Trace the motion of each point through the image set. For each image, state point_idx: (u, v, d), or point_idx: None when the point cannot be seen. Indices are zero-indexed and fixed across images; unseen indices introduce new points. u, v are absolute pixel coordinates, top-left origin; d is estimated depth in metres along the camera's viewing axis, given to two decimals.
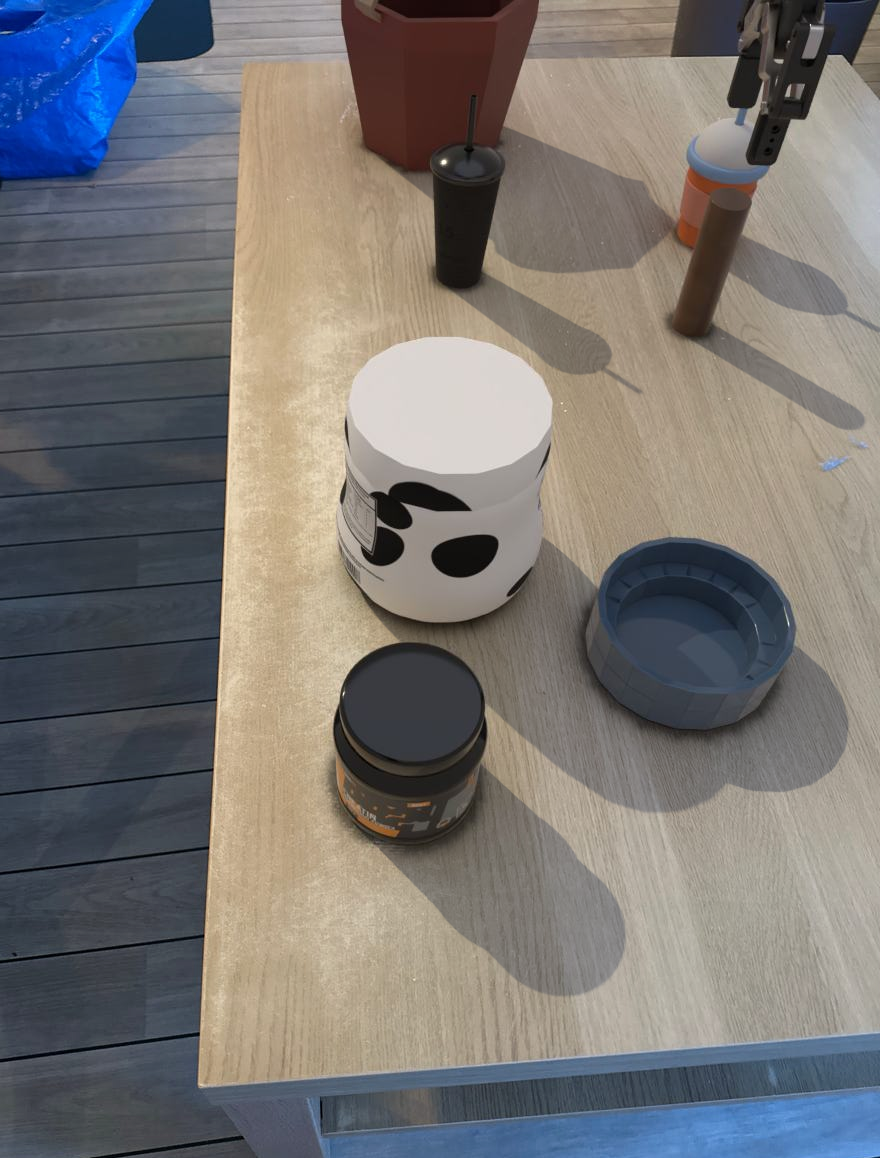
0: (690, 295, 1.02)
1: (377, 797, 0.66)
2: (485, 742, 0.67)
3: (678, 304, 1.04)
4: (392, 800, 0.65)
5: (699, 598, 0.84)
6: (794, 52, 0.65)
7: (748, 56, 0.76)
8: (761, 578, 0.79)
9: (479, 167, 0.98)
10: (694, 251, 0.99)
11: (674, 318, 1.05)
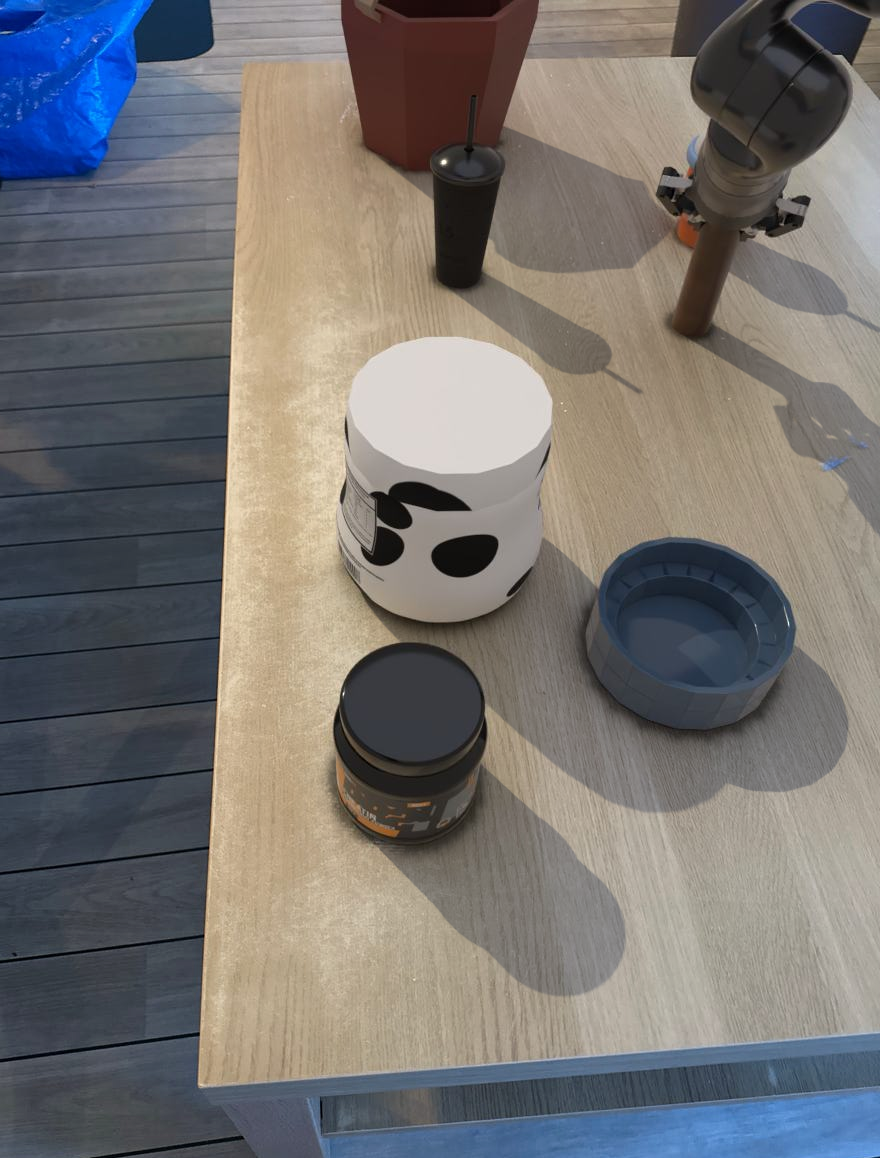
0: (690, 295, 1.02)
1: (377, 797, 0.66)
2: (485, 742, 0.67)
3: (678, 304, 1.04)
4: (392, 800, 0.65)
5: (699, 598, 0.84)
6: None
7: None
8: (761, 578, 0.79)
9: (479, 167, 0.98)
10: (694, 251, 0.99)
11: (674, 318, 1.05)
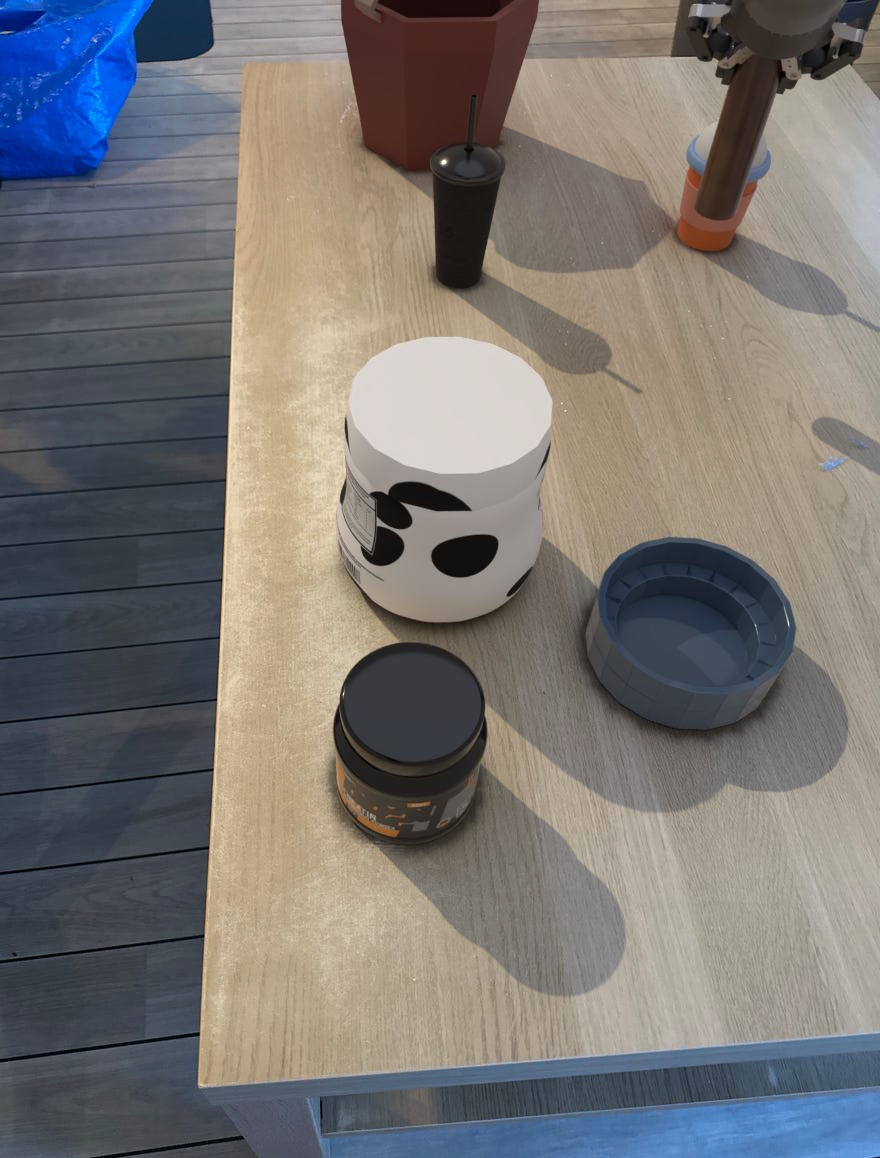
0: (720, 162, 0.88)
1: (377, 797, 0.66)
2: (485, 742, 0.67)
3: (704, 176, 0.91)
4: (392, 800, 0.65)
5: (699, 598, 0.84)
6: None
7: None
8: (761, 578, 0.79)
9: (479, 167, 0.98)
10: (724, 108, 0.86)
11: (699, 194, 0.92)
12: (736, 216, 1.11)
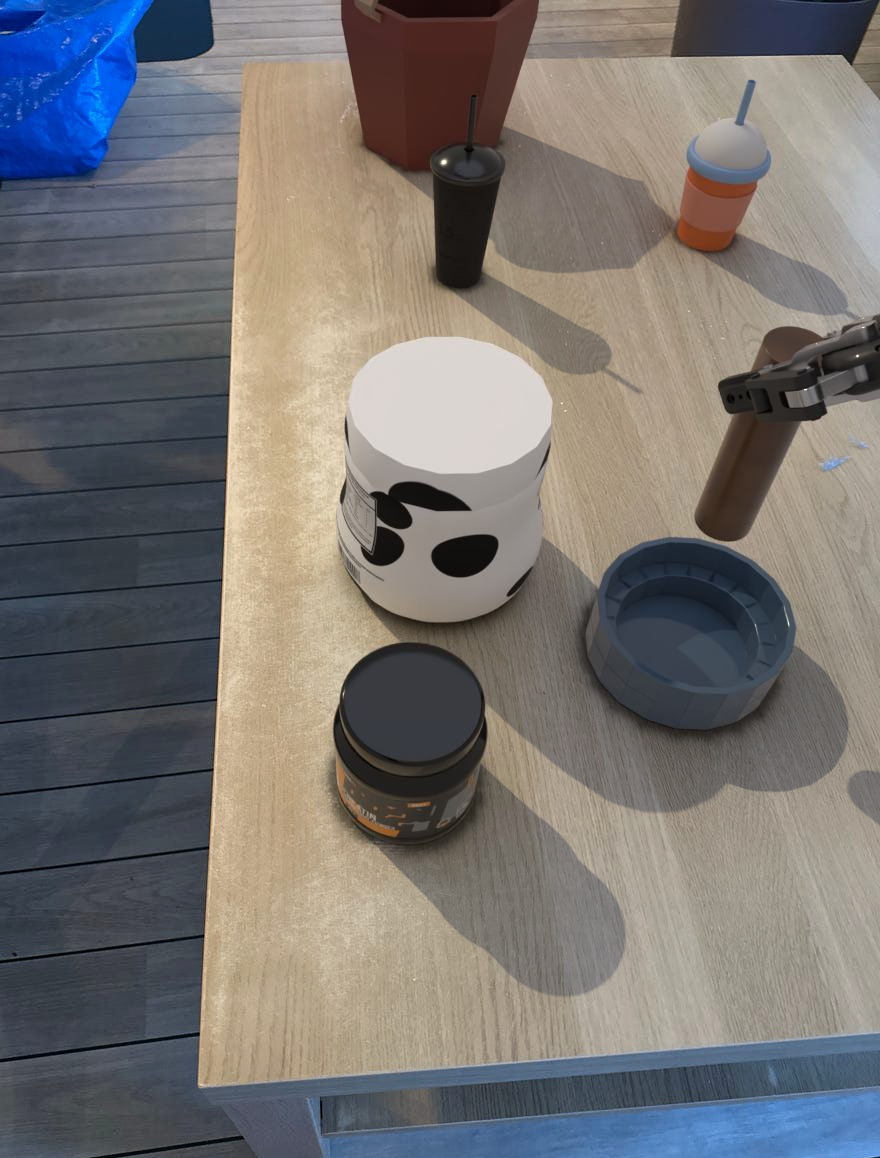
0: (755, 488, 0.65)
1: (377, 797, 0.66)
2: (485, 742, 0.67)
3: (725, 506, 0.67)
4: (392, 800, 0.65)
5: (699, 598, 0.84)
6: None
7: None
8: (761, 578, 0.79)
9: (479, 167, 0.98)
10: (754, 438, 0.62)
11: (719, 524, 0.68)
12: (736, 216, 1.11)
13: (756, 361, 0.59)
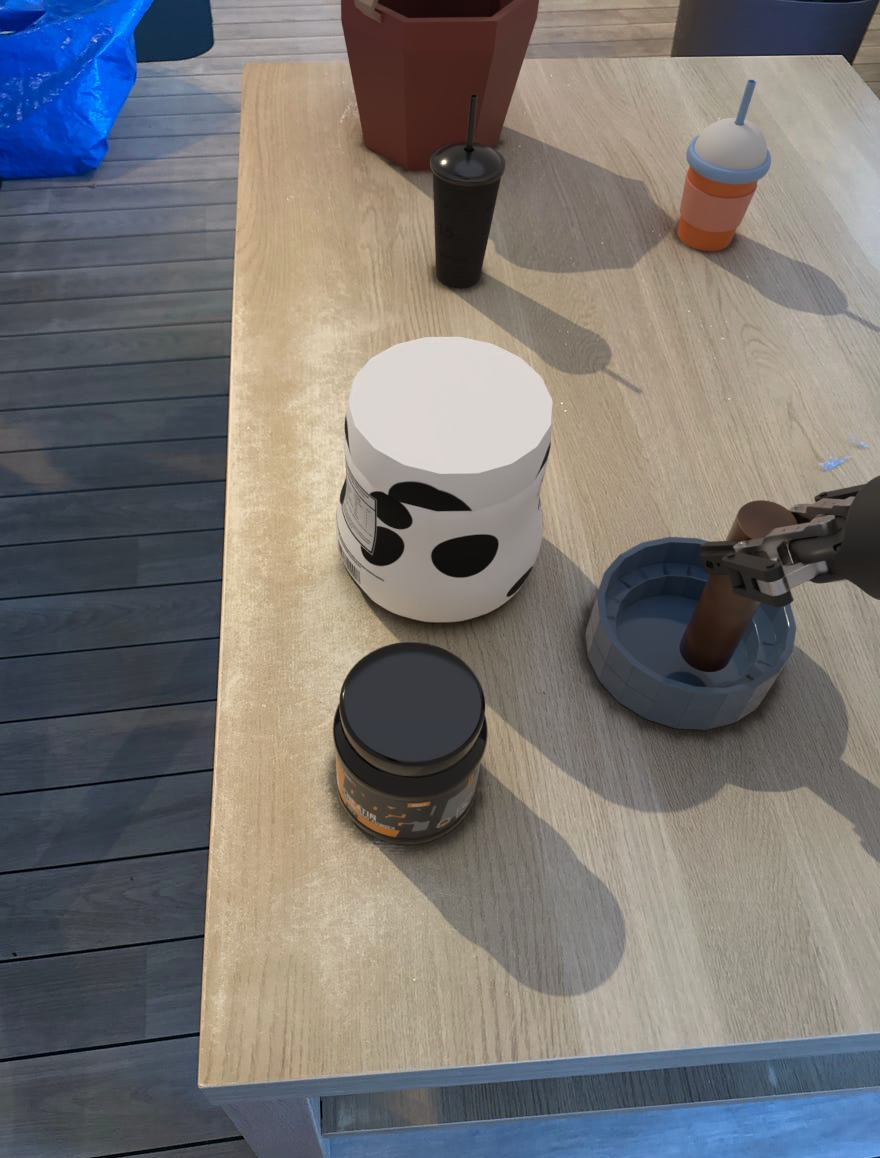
0: (734, 632, 0.72)
1: (377, 797, 0.66)
2: (485, 742, 0.67)
3: (707, 645, 0.74)
4: (392, 800, 0.65)
5: (699, 598, 0.84)
6: None
7: None
8: None
9: (479, 167, 0.98)
10: (731, 594, 0.69)
11: (701, 658, 0.75)
12: (736, 216, 1.11)
13: (731, 532, 0.66)
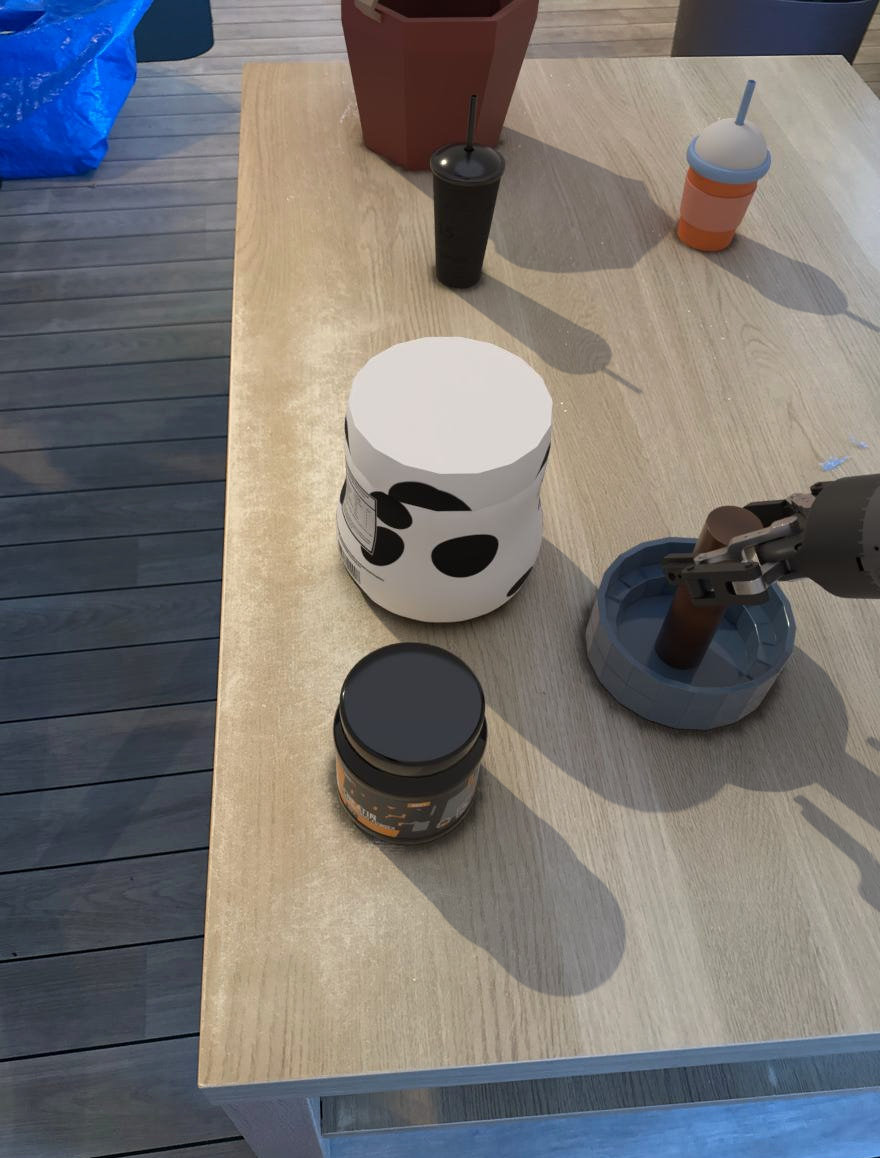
0: (705, 631, 0.76)
1: (377, 797, 0.66)
2: (485, 742, 0.67)
3: (680, 643, 0.78)
4: (392, 800, 0.65)
5: None
6: None
7: None
8: None
9: (479, 167, 0.98)
10: None
11: (675, 656, 0.79)
12: (736, 216, 1.11)
13: (701, 535, 0.70)
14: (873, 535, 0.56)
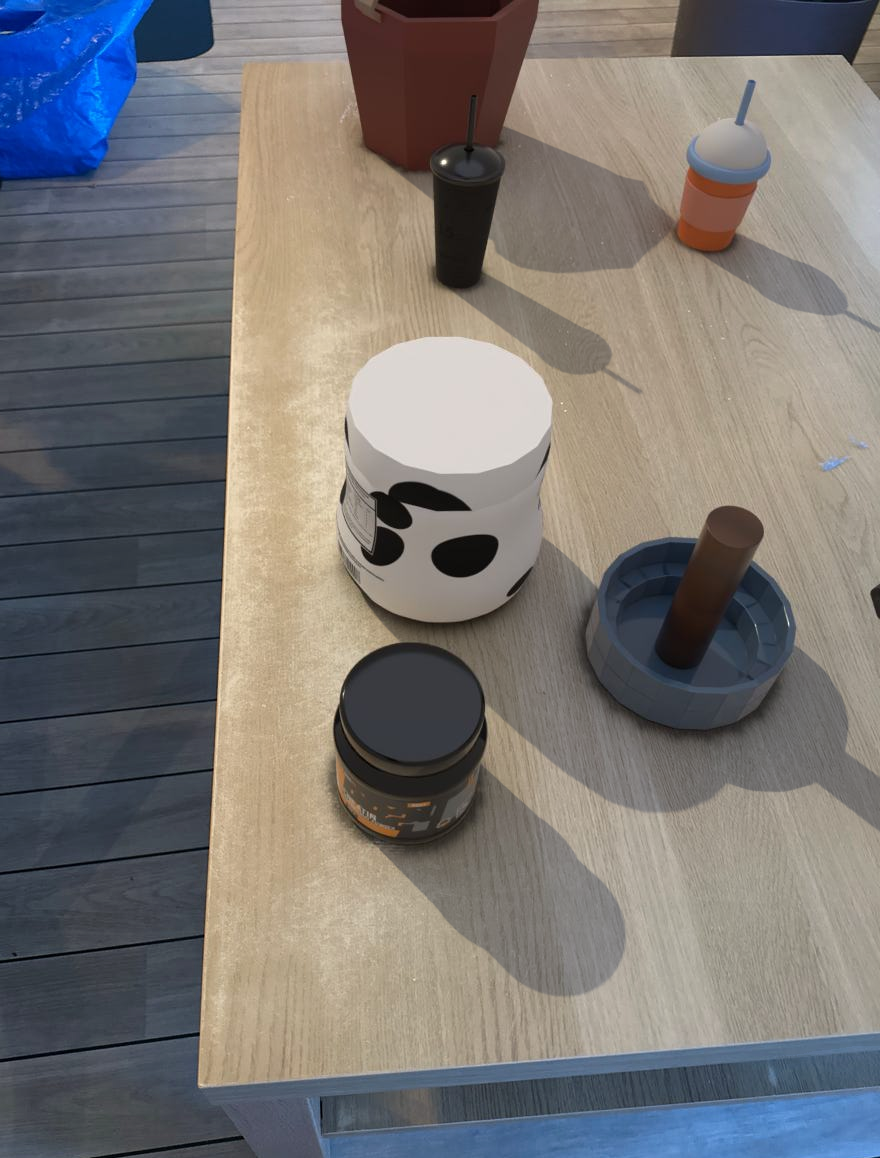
0: (705, 631, 0.76)
1: (377, 797, 0.66)
2: (485, 742, 0.67)
3: (680, 643, 0.78)
4: (392, 800, 0.65)
5: None
6: None
7: None
8: (761, 578, 0.79)
9: (479, 167, 0.98)
10: (702, 594, 0.73)
11: (675, 656, 0.79)
12: (736, 216, 1.11)
13: (701, 535, 0.70)
14: None
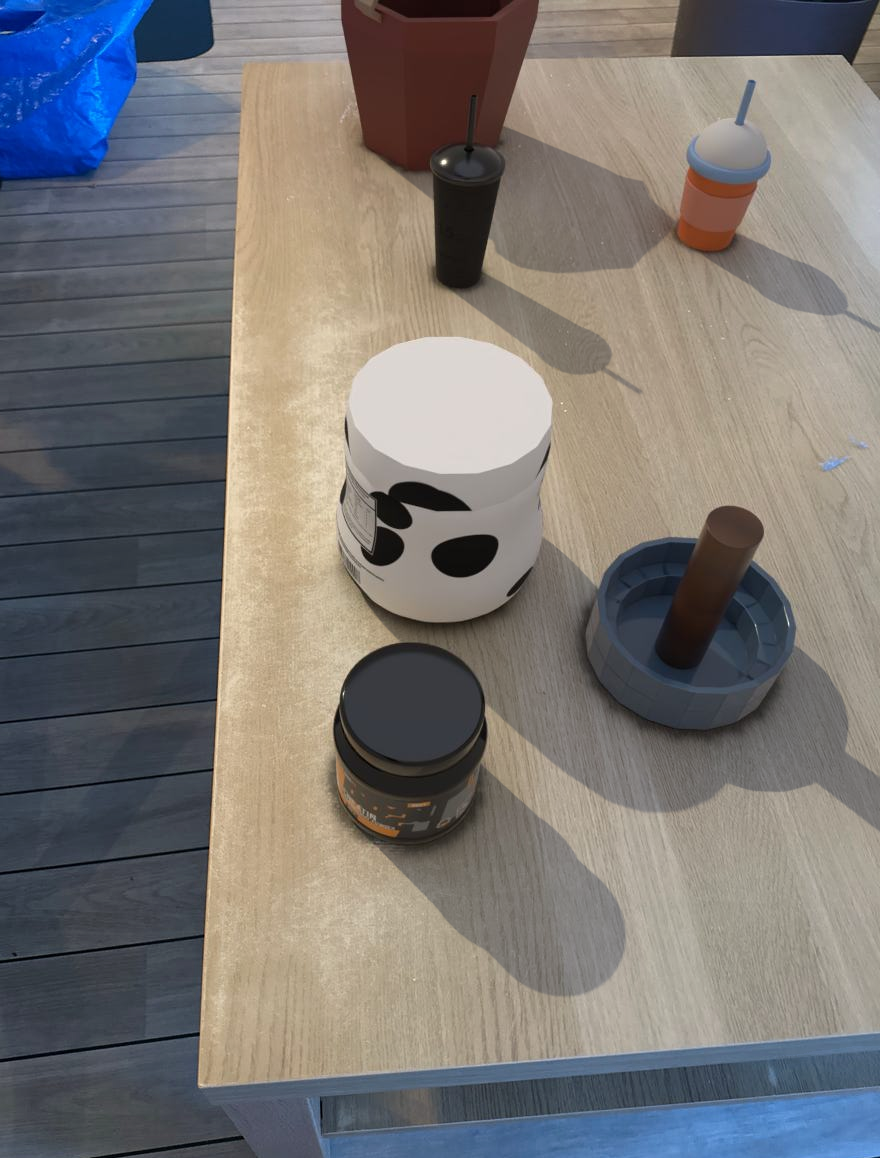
0: (705, 631, 0.76)
1: (377, 797, 0.66)
2: (485, 742, 0.67)
3: (680, 643, 0.78)
4: (392, 800, 0.65)
5: None
6: None
7: None
8: (761, 578, 0.79)
9: (479, 167, 0.98)
10: (702, 594, 0.73)
11: (675, 656, 0.79)
12: (736, 216, 1.11)
13: (701, 535, 0.70)
14: None
